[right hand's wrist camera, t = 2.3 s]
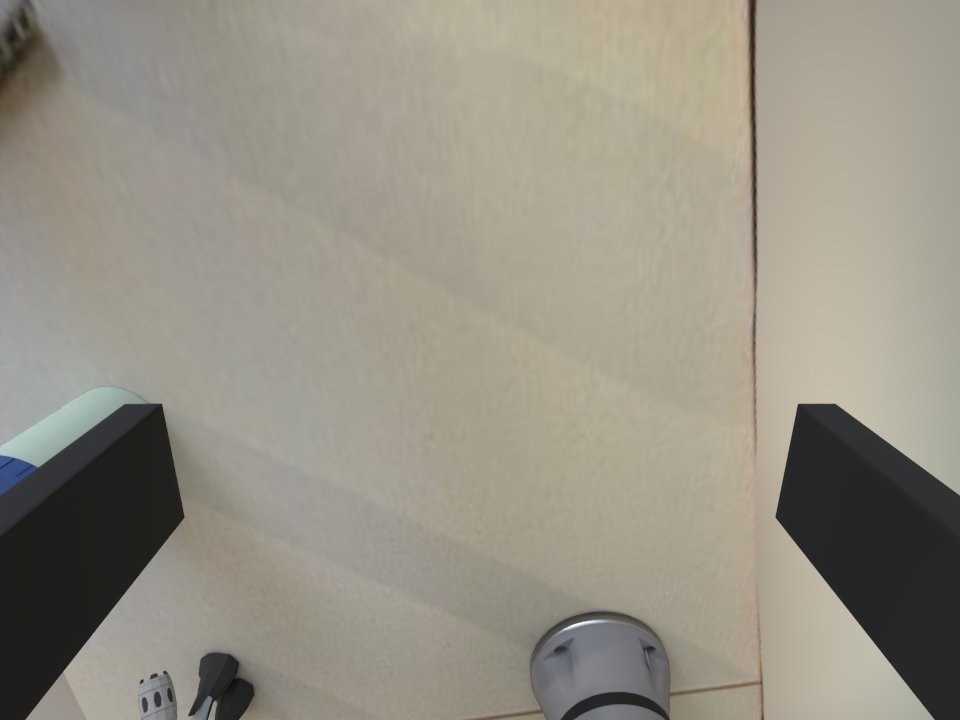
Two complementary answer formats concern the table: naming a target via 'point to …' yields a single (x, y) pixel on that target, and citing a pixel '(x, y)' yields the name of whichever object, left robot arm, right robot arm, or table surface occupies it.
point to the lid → (13, 471)
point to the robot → (199, 692)
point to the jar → (67, 424)
